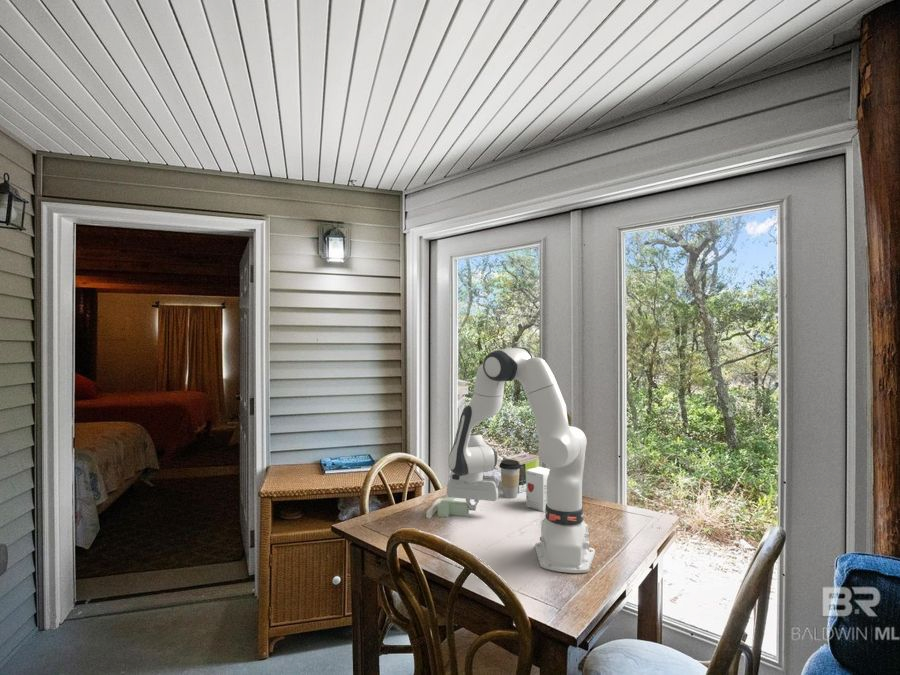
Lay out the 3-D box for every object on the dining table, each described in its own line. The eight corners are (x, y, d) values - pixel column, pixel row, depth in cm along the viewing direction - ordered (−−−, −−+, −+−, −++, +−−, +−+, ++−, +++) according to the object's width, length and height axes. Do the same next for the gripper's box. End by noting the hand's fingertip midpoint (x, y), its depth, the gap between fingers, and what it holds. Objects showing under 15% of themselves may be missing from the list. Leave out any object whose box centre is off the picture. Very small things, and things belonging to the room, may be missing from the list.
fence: (455, 520, 175) (455, 514, 176) (426, 518, 178) (426, 511, 178) (464, 506, 191) (464, 500, 191) (438, 504, 194) (438, 498, 194)
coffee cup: (518, 500, 198) (518, 465, 199) (497, 498, 201) (496, 463, 202) (522, 494, 207) (522, 460, 207) (501, 492, 210) (501, 458, 210)
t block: (465, 518, 178) (465, 508, 178) (437, 516, 180) (437, 505, 180) (470, 509, 187) (470, 499, 187) (444, 507, 190) (444, 497, 190)
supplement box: (525, 506, 191) (525, 469, 192) (538, 501, 197) (538, 466, 198) (543, 512, 185) (543, 474, 185) (556, 506, 191) (556, 470, 191)
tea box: (524, 482, 225) (523, 451, 225) (540, 487, 217) (540, 455, 218) (502, 488, 215) (502, 456, 216) (519, 493, 208) (518, 460, 208)
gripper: (499, 474, 183) (500, 509, 183) (449, 470, 188) (449, 505, 188) (497, 478, 177) (497, 515, 176) (445, 474, 182) (445, 510, 182)
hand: (472, 510), depth 182 cm, fingers closed
